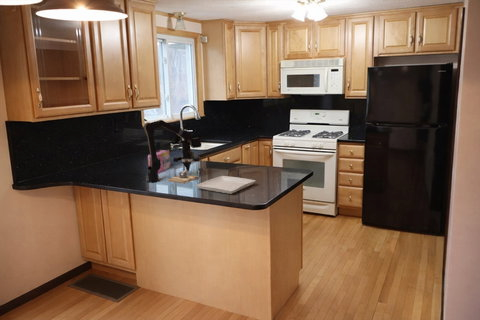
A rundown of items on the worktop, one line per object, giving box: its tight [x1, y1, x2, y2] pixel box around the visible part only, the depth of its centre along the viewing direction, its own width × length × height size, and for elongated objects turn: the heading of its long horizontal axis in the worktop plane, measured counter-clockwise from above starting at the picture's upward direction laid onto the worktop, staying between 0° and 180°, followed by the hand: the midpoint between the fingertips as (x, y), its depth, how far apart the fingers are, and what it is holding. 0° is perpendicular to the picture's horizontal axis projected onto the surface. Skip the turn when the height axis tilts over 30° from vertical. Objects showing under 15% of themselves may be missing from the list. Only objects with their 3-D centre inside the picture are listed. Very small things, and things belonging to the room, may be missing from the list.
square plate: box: [195, 175, 256, 195], centre depth 248 cm, size 27×27×4 cm
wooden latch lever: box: [178, 168, 189, 178], centre depth 275 cm, size 13×5×3 cm, turn 172°
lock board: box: [167, 174, 199, 184], centre depth 272 cm, size 15×14×2 cm
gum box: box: [147, 149, 171, 174], centre depth 305 cm, size 24×8×14 cm, turn 166°
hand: (188, 171), depth 279 cm, fingers closed
